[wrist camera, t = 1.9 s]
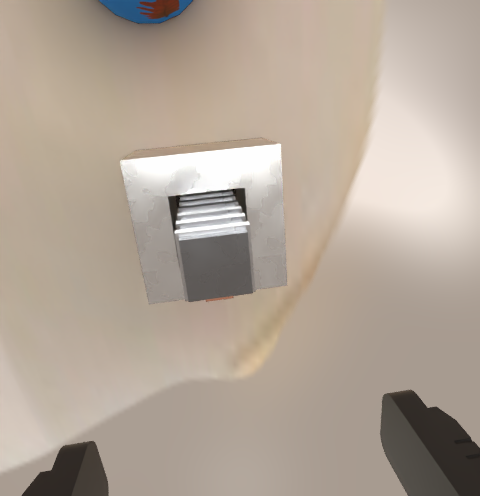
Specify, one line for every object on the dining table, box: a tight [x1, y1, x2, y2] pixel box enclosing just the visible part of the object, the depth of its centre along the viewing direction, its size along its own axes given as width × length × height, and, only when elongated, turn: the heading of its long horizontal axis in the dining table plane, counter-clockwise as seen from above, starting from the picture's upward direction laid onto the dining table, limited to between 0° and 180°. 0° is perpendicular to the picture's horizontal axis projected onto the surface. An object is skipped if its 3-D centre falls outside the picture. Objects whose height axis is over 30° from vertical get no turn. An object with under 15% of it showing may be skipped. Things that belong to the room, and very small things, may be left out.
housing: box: [120, 138, 287, 304], centre depth 33 cm, size 13×12×8 cm
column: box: [174, 189, 255, 302], centre depth 29 cm, size 4×4×16 cm
